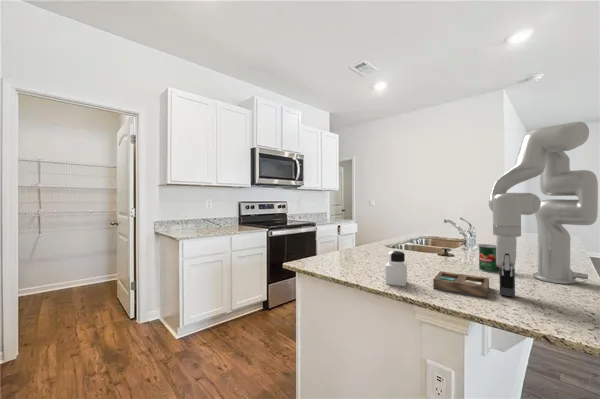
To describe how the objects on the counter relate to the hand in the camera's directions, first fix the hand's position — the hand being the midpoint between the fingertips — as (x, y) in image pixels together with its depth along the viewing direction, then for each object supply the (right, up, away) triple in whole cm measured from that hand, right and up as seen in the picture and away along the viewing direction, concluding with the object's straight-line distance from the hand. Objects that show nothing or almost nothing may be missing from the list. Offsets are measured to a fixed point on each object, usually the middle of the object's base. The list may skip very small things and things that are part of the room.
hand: (507, 285), depth 92 cm
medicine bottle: (-32, -4, +14) cm, 35 cm away
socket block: (-11, -3, +8) cm, 14 cm away
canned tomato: (+16, -3, +31) cm, 35 cm away
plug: (0, -3, 0) cm, 3 cm away
